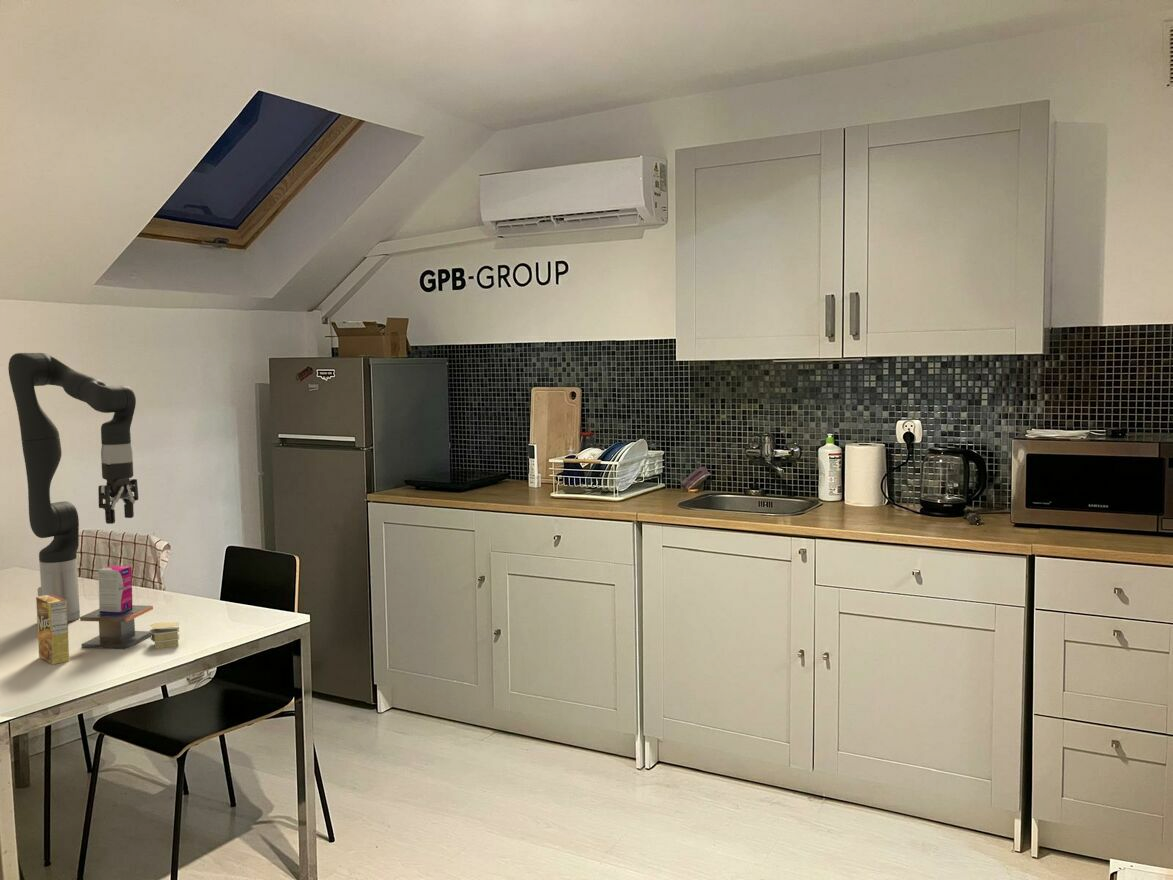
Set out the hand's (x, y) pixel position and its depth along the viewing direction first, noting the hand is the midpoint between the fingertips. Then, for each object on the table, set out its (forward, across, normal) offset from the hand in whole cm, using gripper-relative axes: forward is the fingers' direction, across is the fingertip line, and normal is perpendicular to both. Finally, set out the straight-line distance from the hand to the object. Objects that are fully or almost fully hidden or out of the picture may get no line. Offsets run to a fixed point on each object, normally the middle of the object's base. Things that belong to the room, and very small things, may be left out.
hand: (120, 520), depth 254 cm
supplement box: (+22, +10, +4) cm, 25 cm away
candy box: (+30, +25, -3) cm, 39 cm away
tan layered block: (+31, +12, +18) cm, 37 cm away
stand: (+30, +10, +4) cm, 32 cm away
